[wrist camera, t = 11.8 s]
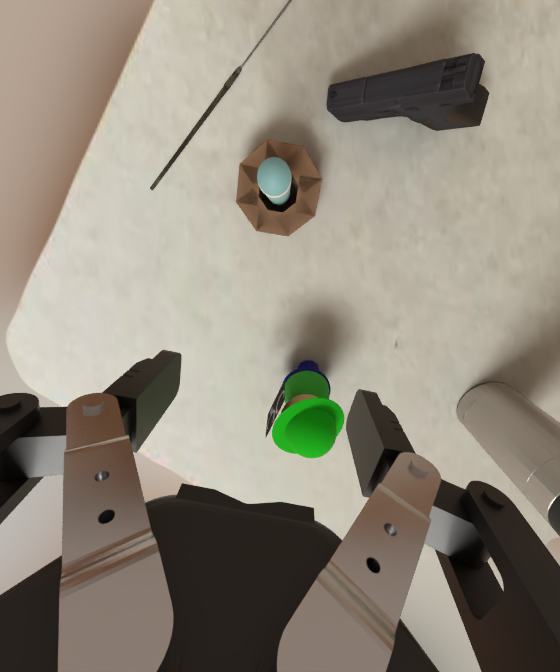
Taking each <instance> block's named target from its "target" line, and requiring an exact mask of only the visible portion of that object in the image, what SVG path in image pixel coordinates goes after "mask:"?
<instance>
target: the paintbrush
mask: <svg viewBox="0 0 560 672" xmlns="http://www.w3.org/2000/svg"><path fill="white" fill-rule="evenodd" d="M291 1H292V0H289V1H288V3H287V4H286V6H285V7H284V8H283V10H282V11H281V12H280V14H279V15H278V16H277V18H276V19H275V21H274V22H273V23H272V25H271V26H270V27H269V29H268V30H267V32H266V33H265V34H264V36H263V37H262V38H261V40H260V41H259V42H258V44H257V45H256V47H255V48H254V49H253V51H252V52H251V53H250V55H249V56H248V58H247V59H246V60H245V62H244V63H243V64H242V66H241V67H238V68H237V69H236V71H235V72H234V73H233V74H232V76H231V77H230V78H229V79H228V81H227V82H226V83H225V84H224V87H223V88H222V90H221V91H220V92H219V94H218V95H217V97H216V98H215V99H214V101H213V102H212V103H211V105H210V106H209V108H208V109H207V110H206V112H205V113H204V114H203V116H202V117H201V119H200V120H199V121H198V123H197V124H196V126H195V127H194V128H193V130H192V131H191V132H190V134H189V135H188V137H187V138H186V139H185V141H184V142H183V143H182V145H181V146H180V148H179V149H178V150H177V152H176V153H175V154H174V156H173V157H172V159H171V160H170V161H169V163H168V164H167V165H166V167H165V168H164V170H163V171H162V172H161V174H160V175H159V177H158V178H157V179H156V181H155V182H154V183H153V185H152V186H151V188H150V189H151V190H153V189H154V188H155V187H156V185H157V184H158V183H159V181H160V180H161V179H162V177H163V176H164V175H165V173H166V172H167V171H168V169H169V168H170V167H171V165H172V164H173V162H174V161H175V160H176V158H177V157H178V156H179V154H180V153H181V152H182V150H183V149H184V148H185V146H186V145H187V144H188V142H189V141H190V140H191V138H192V137H193V136H194V134H195V133H196V132H197V130H198V129H199V128H200V126H201V125H202V124H203V122H204V121H205V120H206V118H207V117H208V116H209V114H210V113H211V112H212V110H213V109H214V108H215V106H216V105H217V104H218V102H219V101H220V100H221V98H222V97H223V96H224V94H225V93H226V92H227V90H229V88H230V87H231V85H232V84H233V82H234V81H235V79H236V78H237V77H238V75H239V74H240V72H241V70H242V69H241V68H242V67H243V66H244V64H245V63H246V61H247V60H248V59H249V57H250V56H251V55H252V53H253V52H254V51H255V49H256V48H257V47H258V45H259V44H260V43H261V41H262V40H263V39H264V37H265V36H266V34H267V33H268V32H269V30H270V29H271V28H272V26H273V25H274V24H275V22H276V21H277V20H278V18H279V17H280V16H281V14H282V13H283V11H284V10H285V9H286V7H287V6H288V5H289V3H290V2H291Z"/></svg>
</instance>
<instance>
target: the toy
mask: <svg viewBox="0 0 560 672" xmlns="http://www.w3.org/2000/svg"><path fill="white" fill-rule="evenodd" d="M329 395H330V384H329V381H328V379H327V377H326V376H325V375H324V374H323V373H322V372H320V371H319V368H318V365H317V364H316V363H315V362H313V361H310V360H306V361H303V362H302V363H300V365H299V366H298V369H297V370H295V371H293V372H291V373H290V374H289V375H287V377H286V378H285V380H284V381H283V384H282V386H281V388H280V390H279V393H278V395H277V397H276V399H275V401H274V403H273V405H272V407H271V409H270V411H269V413H268V420H267V429H266V436H267V434H268V432H269V430H270V428H271V426H272V424H273V422H274V420H275V418H276V416H277V414H278V412H279V410H280V408H281V406H282V404H283V402H284V400H285V403H286V405H285V406H284V408H283V410H282V412H281V414H280V415H279V417H278V418H277V420H276V421H275V423H274V426H273V430H272V437H273V440H274V442H275V444H276V445H277V446H278V447H279V448H280V449H282V450H284V451H286V452H289V453H295V454H299V455H301V456H303V457H307V458H317V457H321V456H323V455H324V454H326V453H327V452H328V451H329V450H330V449H331V448H332V446H333V444H334V442H335V439H336V436H337V435H338V434H339V432H340V431H341V429H342V426H343V423H344V414H343V411H342V409H341V407H340V406H339V405H338V404H337V403H335V402H334V401H331V400H329Z"/></svg>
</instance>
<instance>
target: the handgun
mask: <svg viewBox="0 0 560 672" xmlns="http://www.w3.org/2000/svg"><path fill="white" fill-rule="evenodd" d="M484 63H485V61H484V59H483V58H482V57H481V55H480V54H475V53H472V54H467V55H463V56H458V57H454V58H449V59H442V60H438V61H433V62H430V63H426V64H422V65H418V66H414V67H409V68H405V69H400V70H396V71H391V72H387V73H382V74H378V75H373V76H369V77H363V78H359V79H354V80H350V81H345V82H341V83H336V84H332V85H330V86H329V88H328V97H327V110H328V111H329V112H330V113H331V114H333V115H334V116H335V117H336V118H337V119H338V120H339V121H341V122H351V121H358V120H366V121H368V120H374V119H380V118H389V117H397V116H403V117H408V118H410V120H412V121H415V122H417V123H421V124H423V125H425V126H427V127H429V128H431V129H433V130H436V131H439V130H447V129H456V128H464V127H473V126H479V125H480V124H481V120H482V117H483V113H484V110H485V107H486V103H487V100H488V96H489V92H488V91H487V90H486V88H485V87H484V86H482V85H480V84H479V81H480V78H481V74H482V70H483V67H484Z"/></svg>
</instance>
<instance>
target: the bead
mask: <svg viewBox="0 0 560 672" xmlns="http://www.w3.org/2000/svg"><path fill="white" fill-rule="evenodd" d="M271 157H277V158H280V159H282V160H284V161H285V162H286V163H287V165H288V167H289V169H290V171H291V180H292V182H293V183H294V185H295V186H296V188H297V195H296V201H295V204H293V205H292V206H291V207H290V208H288V209H287V210H286V211H284V212H283V213H282V212H276V211H271V210H269V209H268V208H267V206H266V205H265V203H264V202H263V200H262V193H263V192H262V190H261V189H260V187H259V185H258V180H257V173H258V169H259V167H260V165H261V163H262V162H263V161H264V160H266V159H268V158H271ZM321 182H322V178H321V176H320V175H319V173H318V171H317V170H316V168H315V166H314V165H313V163H312V161H311V159H310V158H309V156H308V154H307V153H306V151H305V149H304V147H303V146H299V145H294V144H288V143H283V142H278V141H272V140H267V141H265V142H264V143H263V144H262V145H261V146H260V147H259V148H257V149H256V150H255V151H254V152H253V153H252V154H251V155H249V156H248V157H247V158H246V159H245V160H244V161H243V162H241V163H240V166H239V177H238V188H237V199H236V202H237V204H238V205H239V207H240V208H241V210H242V211H243V212H244V214H245V215H246V217H247V218H248V220H249V221H250V222H251V224H252V225H253V227H254V228H255V230H256V231H260V232H266V233H271V234H277V235H283V236H289V235H290V234H292V233H293V232H294V231H296V230H297V229H298V228H300V227H301V226H302V225H304V224H305V223H306V222H308V221H309V220H310V219H312V218H313V217H314V216H315V213H316V208H317V202H318V197H319V192H320V187H321Z"/></svg>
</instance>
